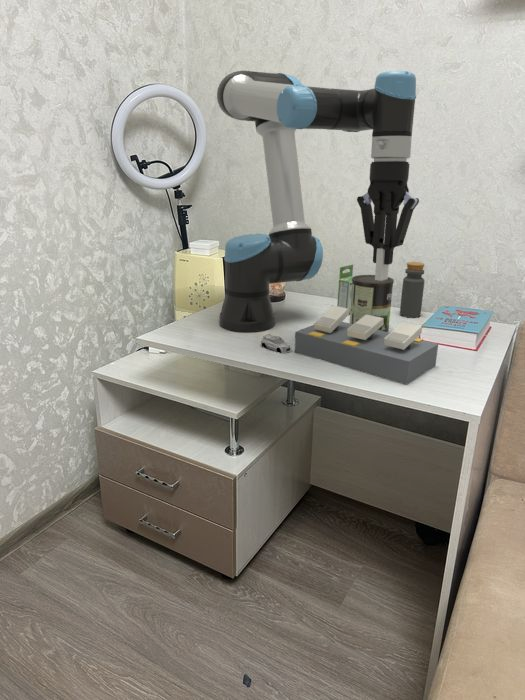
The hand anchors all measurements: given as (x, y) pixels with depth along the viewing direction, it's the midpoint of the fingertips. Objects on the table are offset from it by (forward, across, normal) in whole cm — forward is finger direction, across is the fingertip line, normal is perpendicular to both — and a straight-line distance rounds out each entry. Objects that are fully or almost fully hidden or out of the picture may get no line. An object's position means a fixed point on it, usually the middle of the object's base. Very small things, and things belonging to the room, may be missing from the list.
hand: (381, 279), depth 111 cm
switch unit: (+19, -3, 0) cm, 19 cm away
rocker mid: (+11, -3, 0) cm, 11 cm away
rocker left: (+11, -12, 0) cm, 16 cm away
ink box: (+18, -27, +30) cm, 44 cm away
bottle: (+18, -12, +40) cm, 45 cm away
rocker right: (+11, +6, 0) cm, 13 cm away
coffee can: (+18, -12, +18) cm, 28 cm away
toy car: (+19, -22, -8) cm, 30 cm away
